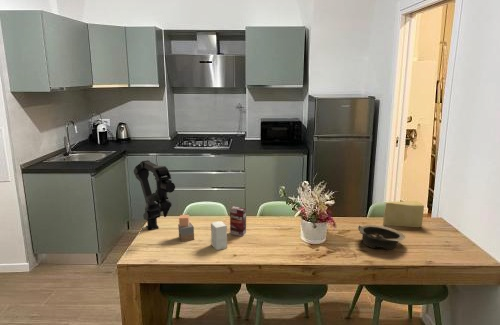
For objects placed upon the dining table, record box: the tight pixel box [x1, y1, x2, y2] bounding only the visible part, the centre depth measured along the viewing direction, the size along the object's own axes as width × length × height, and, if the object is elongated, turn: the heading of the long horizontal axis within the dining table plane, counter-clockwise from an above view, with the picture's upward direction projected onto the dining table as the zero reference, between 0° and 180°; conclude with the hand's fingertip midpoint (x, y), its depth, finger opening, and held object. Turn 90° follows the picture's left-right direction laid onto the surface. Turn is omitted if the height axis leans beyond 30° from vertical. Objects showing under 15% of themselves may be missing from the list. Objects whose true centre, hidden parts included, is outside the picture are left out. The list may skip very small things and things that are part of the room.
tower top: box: [177, 221, 195, 235], centre depth 218 cm, size 7×7×4 cm
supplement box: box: [229, 206, 247, 237], centre depth 223 cm, size 9×5×16 cm, turn 68°
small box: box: [210, 220, 228, 251], centre depth 207 cm, size 8×6×13 cm
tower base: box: [178, 231, 195, 243], centre depth 219 cm, size 7×7×4 cm
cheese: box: [382, 200, 425, 228], centre depth 235 cm, size 22×10×15 cm, turn 88°
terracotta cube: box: [178, 214, 190, 227], centre depth 218 cm, size 5×5×5 cm
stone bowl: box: [357, 224, 406, 251], centre depth 210 cm, size 25×25×9 cm
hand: (163, 214), depth 221 cm, fingers open, 9 cm apart
